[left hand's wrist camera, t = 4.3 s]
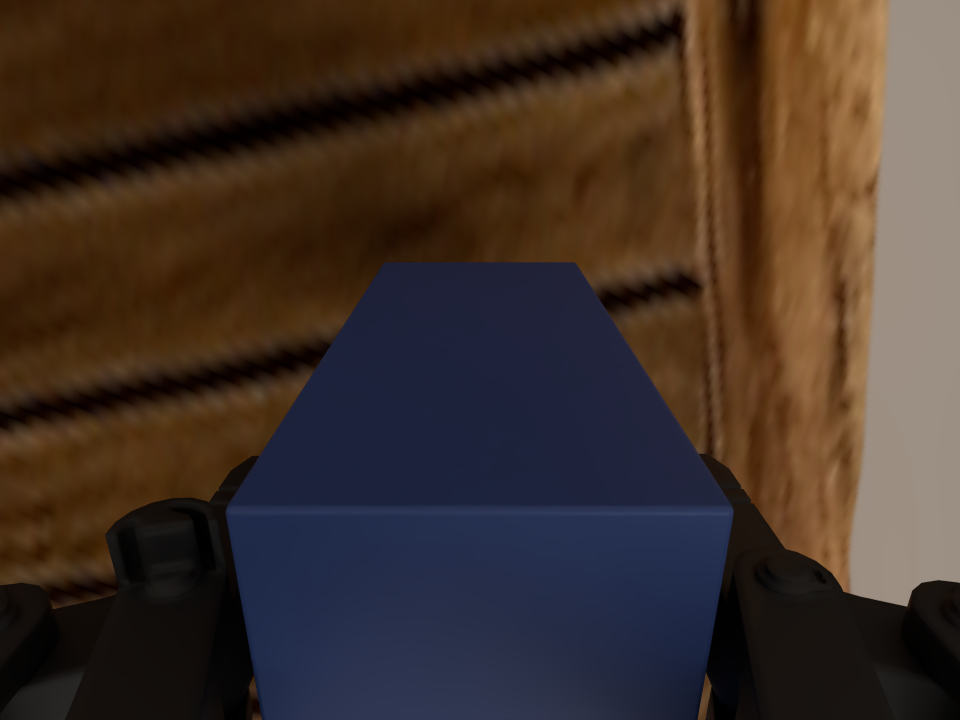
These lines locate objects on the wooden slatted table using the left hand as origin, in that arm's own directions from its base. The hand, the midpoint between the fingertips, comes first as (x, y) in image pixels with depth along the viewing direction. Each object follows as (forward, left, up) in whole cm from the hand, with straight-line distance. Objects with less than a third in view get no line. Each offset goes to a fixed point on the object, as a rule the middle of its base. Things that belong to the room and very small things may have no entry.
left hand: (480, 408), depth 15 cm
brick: (0, 0, -2) cm, 2 cm away
